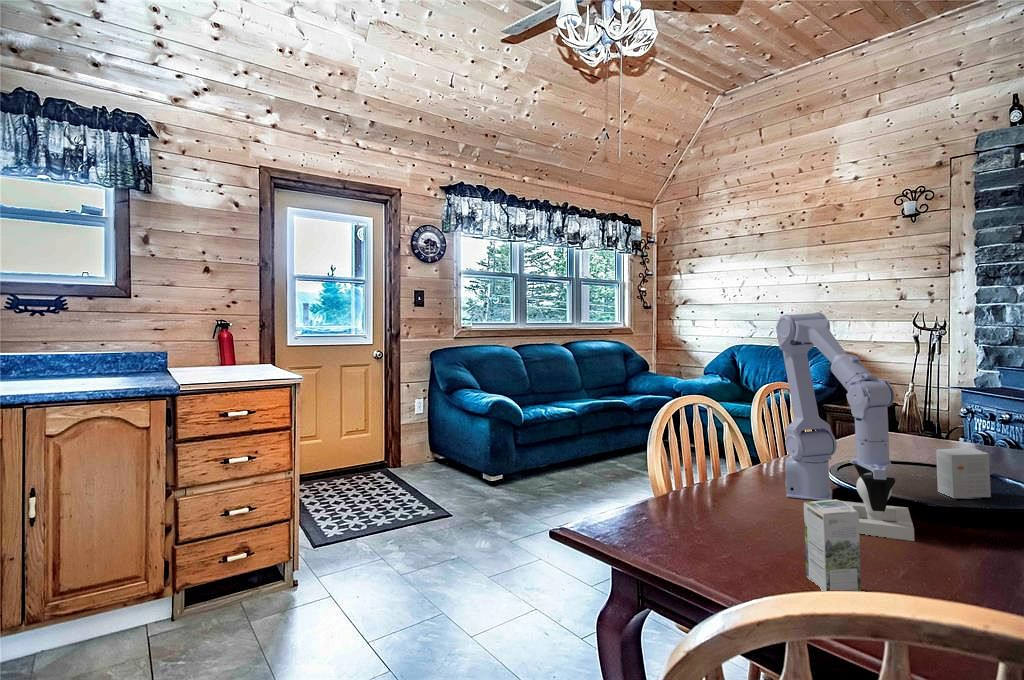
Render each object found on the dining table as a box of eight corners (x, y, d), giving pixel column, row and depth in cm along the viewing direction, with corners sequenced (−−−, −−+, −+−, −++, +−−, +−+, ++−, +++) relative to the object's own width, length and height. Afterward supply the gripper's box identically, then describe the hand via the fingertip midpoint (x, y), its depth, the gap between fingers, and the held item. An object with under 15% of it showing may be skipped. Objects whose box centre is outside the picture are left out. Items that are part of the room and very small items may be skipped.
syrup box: (839, 582, 92) (835, 497, 91) (863, 600, 86) (859, 509, 86) (805, 585, 92) (801, 500, 91) (827, 604, 86) (823, 512, 85)
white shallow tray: (841, 532, 112) (840, 520, 111) (841, 512, 122) (841, 501, 122) (914, 541, 105) (913, 528, 105) (908, 519, 116) (907, 507, 115)
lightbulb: (882, 534, 109) (880, 479, 109) (851, 524, 115) (849, 472, 114) (899, 526, 112) (897, 473, 112) (868, 518, 118) (866, 467, 117)
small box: (973, 491, 129) (971, 447, 128) (991, 499, 123) (990, 453, 123) (936, 492, 130) (935, 448, 129) (953, 500, 124) (951, 454, 124)
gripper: (844, 430, 121) (847, 491, 122) (854, 446, 108) (857, 514, 108) (882, 431, 118) (885, 494, 119) (897, 447, 105) (900, 518, 105)
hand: (874, 504), depth 113 cm, fingers open, 7 cm apart
